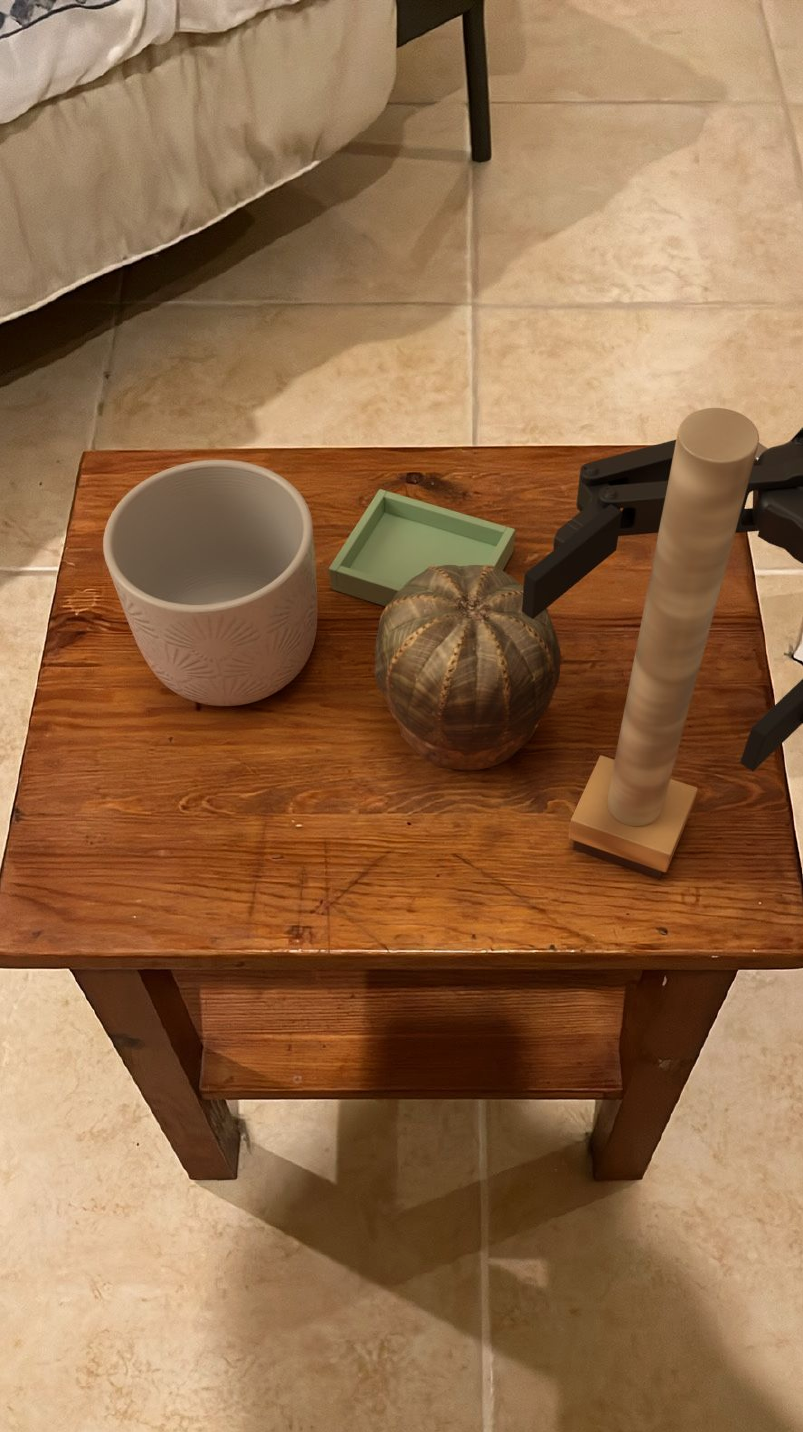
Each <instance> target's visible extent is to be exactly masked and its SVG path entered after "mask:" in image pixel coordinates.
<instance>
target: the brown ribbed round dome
mask: <svg viewBox="0 0 803 1432" xmlns="http://www.w3.org/2000/svg"><path fill="white" fill-rule="evenodd" d="M523 588H524V585H523V584H522V585H521V584H520V582H519V581H518V580H517V579H516V578H515V577H514V576H512V575H510V574H508V573H507V572H505V571H504V570H503V571H501V570H498V569H497V568H495V567H494V566H492V565H468V566H456V565H442V566H430V567H428V568H427V569H426V570H425V571H424V572H422V573H420V574H419V575H417V576H415V577H414V578H412V579H410V580H409V581H408V582H407V583H406V584H405V586H404V587H403V588H402V589H401V590H399V591H398V592H397V593H396V594H395V595H394V597H393V598H392V600H391V601H390V603H389V604H388V605H387V606H386V607H385V606H384V607H385V608H384V609H383V611H382V613H381V614H380V618H379V622H378V628H377V629H378V630H377V634H376V638H375V646H374V663H375V664H374V671H373V672H374V673H373V675H374V679H375V682H376V684H377V686H378V688H379V690H380V691H381V694H382V697H383V698H384V700H385V702H386V704H387V705H386V708H387V710H388V711H390V713H391V714H392V715H391V718H393V719H394V720H395V721H396V722H397V724H398V727H399V730H400V737H401V738H402V739H404V740H405V741H406V742H407V743H408V744H409V745H410V746H411V748H412V749H413V750H414V751H415V752H416V753H417V754H418V755H420V756H421V757H422V758H423V759H424V760H425V761H426V760H427V761H428V762H430V763H433V764H434V765H436V766H437V767H440V768H444V769H453V770H460V771H477V770H484V769H489V768H492V767H495V766H498V765H500V764H502V763H504V762H506V761H508V760H509V759H511V757H513V756H514V755H515V754H516V753H518V751H519V750H520V749H521V748H522V747H525V746H526V745H527V744H528V742H529V741H530V740H531V738H532V737H533V734H534V733H535V732H536V729H537V728H539V725H538V724H539V723H540V721H541V720H542V718H543V716H544V715H545V713H546V711H547V710H548V708H549V705H550V704H551V702H552V700H553V698H554V695H555V691H556V689H557V686H558V683H559V679H560V674H561V664H562V663H561V662H562V654H561V653H562V651H561V648H560V642H559V638H558V636H557V633H556V630H555V626H554V623H553V621H552V619H551V616H550V613H549V610H548V607H547V608H546V609H545V610H544V611H542V612H541V613H540V614H539V615H538V616H536V617H535V618H534V619H532V618H530V617H529V616H527V615H526V614H524V613H523V612H522V602H523Z"/></svg>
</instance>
